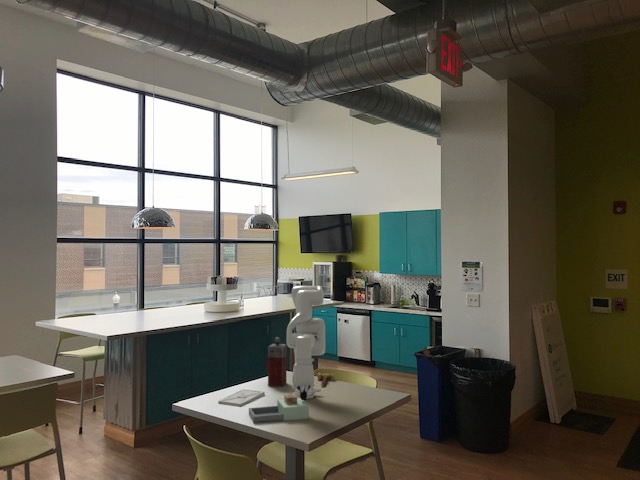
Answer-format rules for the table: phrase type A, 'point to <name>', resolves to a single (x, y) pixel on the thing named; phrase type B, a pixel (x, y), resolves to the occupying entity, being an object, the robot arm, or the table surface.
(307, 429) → the table surface
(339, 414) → the table surface
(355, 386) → the table surface
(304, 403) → the mint green lidded box
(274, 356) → the red liquor decanter
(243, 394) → the envelope
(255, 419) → the tray
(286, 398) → the tile
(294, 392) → the robot arm
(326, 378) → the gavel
